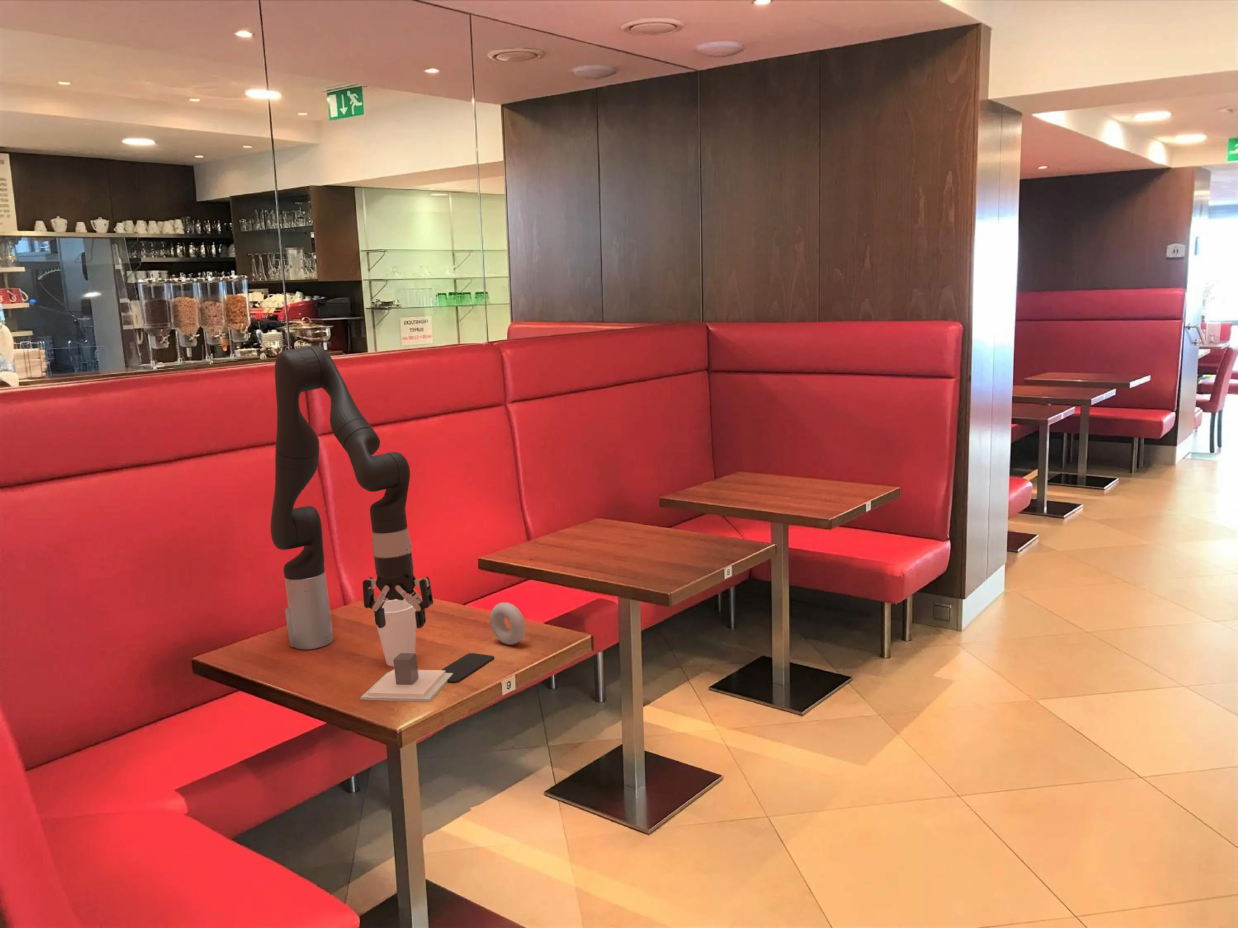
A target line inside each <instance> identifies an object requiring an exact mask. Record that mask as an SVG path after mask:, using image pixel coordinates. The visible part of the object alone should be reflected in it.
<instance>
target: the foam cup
mask: <svg viewBox="0 0 1238 928" xmlns="http://www.w3.org/2000/svg"><path fill="white" fill-rule="evenodd" d="M382 608H384V613H385V621H386V625H385V626H384V627H383V628H378V625H376V628H377V629H376V630H377V632H378V637H379V640H380V644H381V647H382V651H383V652H382V653H383V656H384V659H385V663H386V665H387V666H388V667H394V661H393V659H394V658H396V657H397V656H398V655H399V654H400V653H416V641H417V639H416V636H417V635H416V634H417V633H416V632H417V626H416V618H415V611H416V610H415V608H414V607H413V606H412V605H411V604H409V603H408V602H407V601H406V600H405V599H404V600H397V599H395V600H389V599H388V600H386V602H385V603H384V605H383V607H382ZM372 612H373V614H374V611H373V610H372ZM373 621H375V616H374V615H373Z"/></svg>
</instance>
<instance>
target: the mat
mask: <svg viewBox="0 0 1238 928" xmlns="http://www.w3.org/2000/svg"><path fill="white" fill-rule="evenodd" d="M390 672H391V671H388V672H386V673H385V674H384V675H383V676H382V677H381V678H380V679H379V680H378V681H376V682H375V684H373V685H372V686H371V687H370V688H369V689H368V690H367V691H365V692H364V693H363V694H362V695H361V696H360V701H382V702H383V701H385V702H389V701H390V702H420V703H421V702H423V703H425V702H426V703H428V702H429V703H430V702H431V701H432V700H433V699H434V698H435V697H436V696H437V695H438V693H440V691H441V690H442V689H443V688H444V687H445V686H446V685H447V684H448V683H447V680H448V679H449V678H450V677H451V676H452V675H453V673H446V674H445V675H444V676H443V677H442V679H441V680H440V681H439V682H438V683H437V684H436V685H435V686H434V687H433V688H432V689H431V690H430V691H429V692H428V693H427V695H426V696H425V697H424V698H413V697H374V696H368V692H369V691H370V690H372V689H373V688H374V687H375V686H376V685H377V684H378V683H379V682H380V681H381V680H382V679H383V678H384V677H386V676H387V675H388V674H389V673H390Z"/></svg>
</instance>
